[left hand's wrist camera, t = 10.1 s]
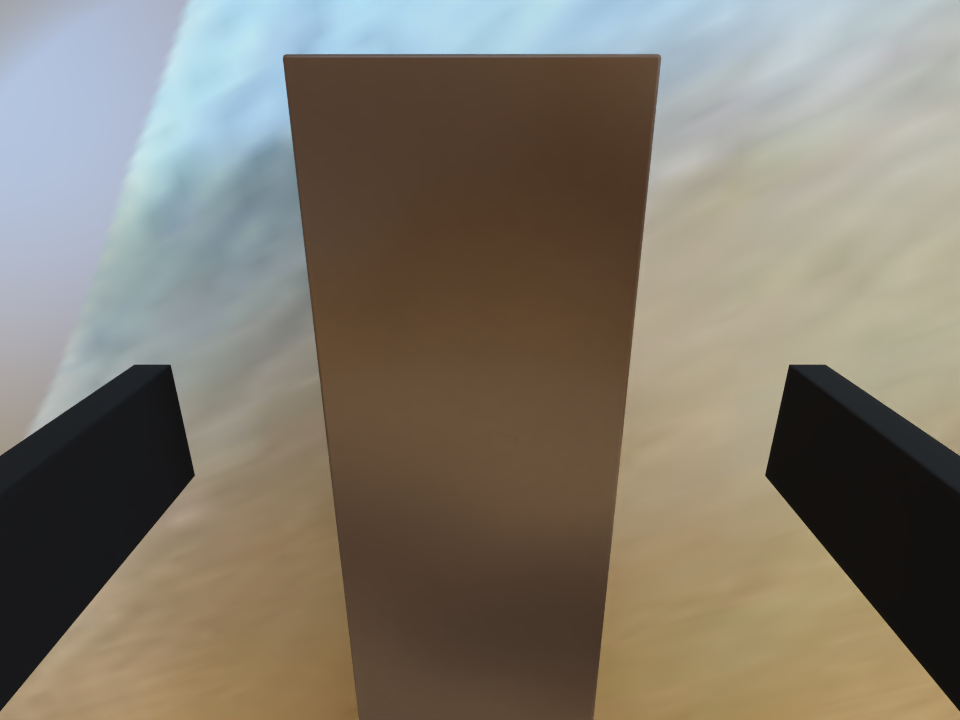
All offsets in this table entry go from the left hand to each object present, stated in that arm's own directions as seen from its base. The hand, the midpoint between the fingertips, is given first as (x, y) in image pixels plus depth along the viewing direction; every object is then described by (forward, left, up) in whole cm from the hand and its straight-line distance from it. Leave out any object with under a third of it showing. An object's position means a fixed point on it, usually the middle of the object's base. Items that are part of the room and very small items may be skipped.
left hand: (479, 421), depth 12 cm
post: (+16, +28, -6) cm, 33 cm away
